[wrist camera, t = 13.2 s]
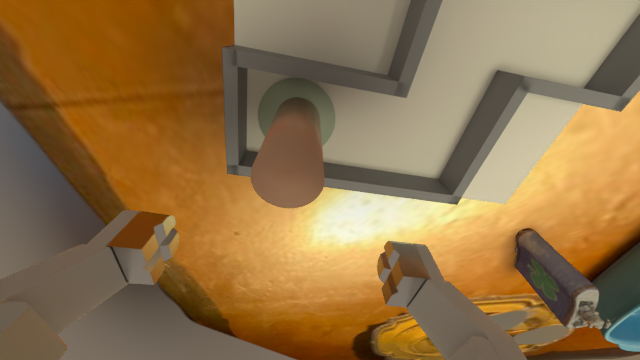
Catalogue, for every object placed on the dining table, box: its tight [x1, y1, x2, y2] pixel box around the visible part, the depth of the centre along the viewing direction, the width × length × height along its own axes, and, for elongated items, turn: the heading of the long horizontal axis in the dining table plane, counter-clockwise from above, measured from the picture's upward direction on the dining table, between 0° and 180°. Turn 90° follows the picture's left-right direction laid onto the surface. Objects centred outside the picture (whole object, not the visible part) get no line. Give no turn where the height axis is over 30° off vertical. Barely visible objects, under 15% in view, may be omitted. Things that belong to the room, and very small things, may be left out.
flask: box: [514, 229, 611, 329], centre depth 29 cm, size 9×3×11 cm, turn 22°
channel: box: [222, 0, 640, 205], centre depth 19 cm, size 31×23×4 cm
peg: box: [251, 97, 325, 208], centre depth 17 cm, size 4×4×10 cm
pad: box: [258, 78, 335, 146], centre depth 21 cm, size 7×7×1 cm
